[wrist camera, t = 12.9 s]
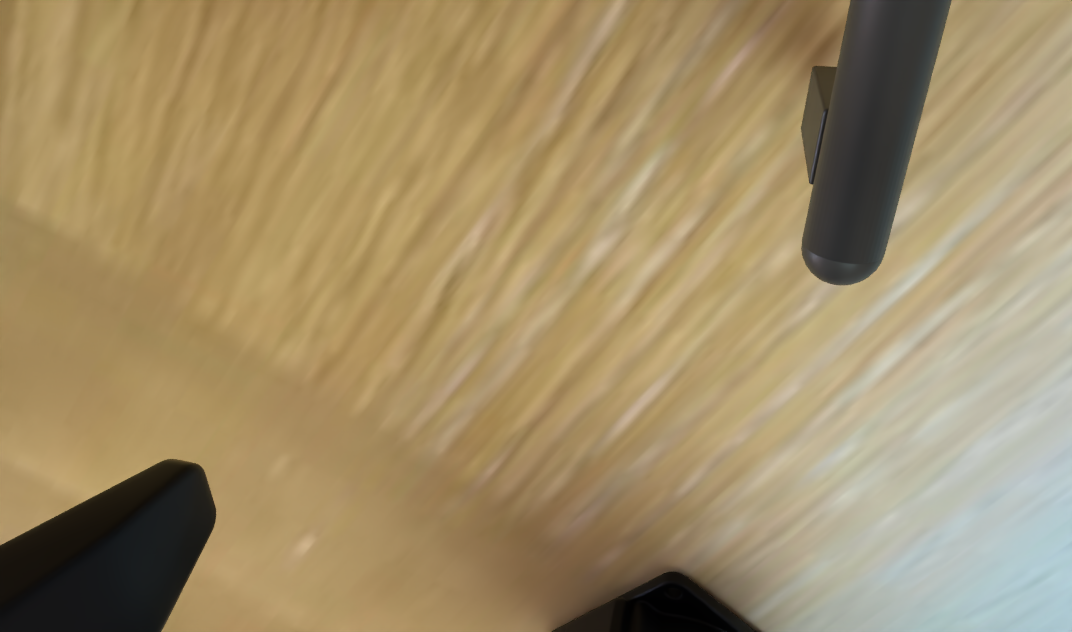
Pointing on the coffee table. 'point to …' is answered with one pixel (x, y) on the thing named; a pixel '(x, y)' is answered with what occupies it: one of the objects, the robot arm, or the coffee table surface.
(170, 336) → the coffee table surface
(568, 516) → the coffee table surface
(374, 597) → the coffee table surface
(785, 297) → the coffee table surface
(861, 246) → the ladle
